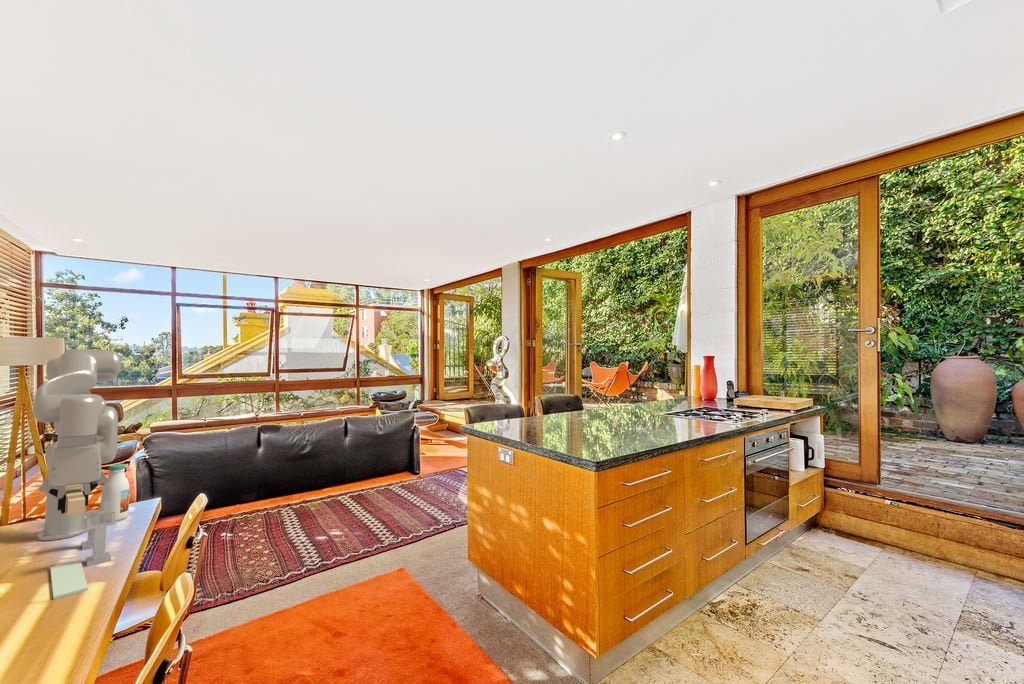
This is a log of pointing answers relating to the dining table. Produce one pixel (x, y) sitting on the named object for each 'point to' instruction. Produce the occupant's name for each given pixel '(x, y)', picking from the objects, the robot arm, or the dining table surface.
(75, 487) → the rail
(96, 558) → the post
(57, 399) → the robot arm
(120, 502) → the milk bottle
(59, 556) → the dining table surface
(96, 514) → the post
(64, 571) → the mat
